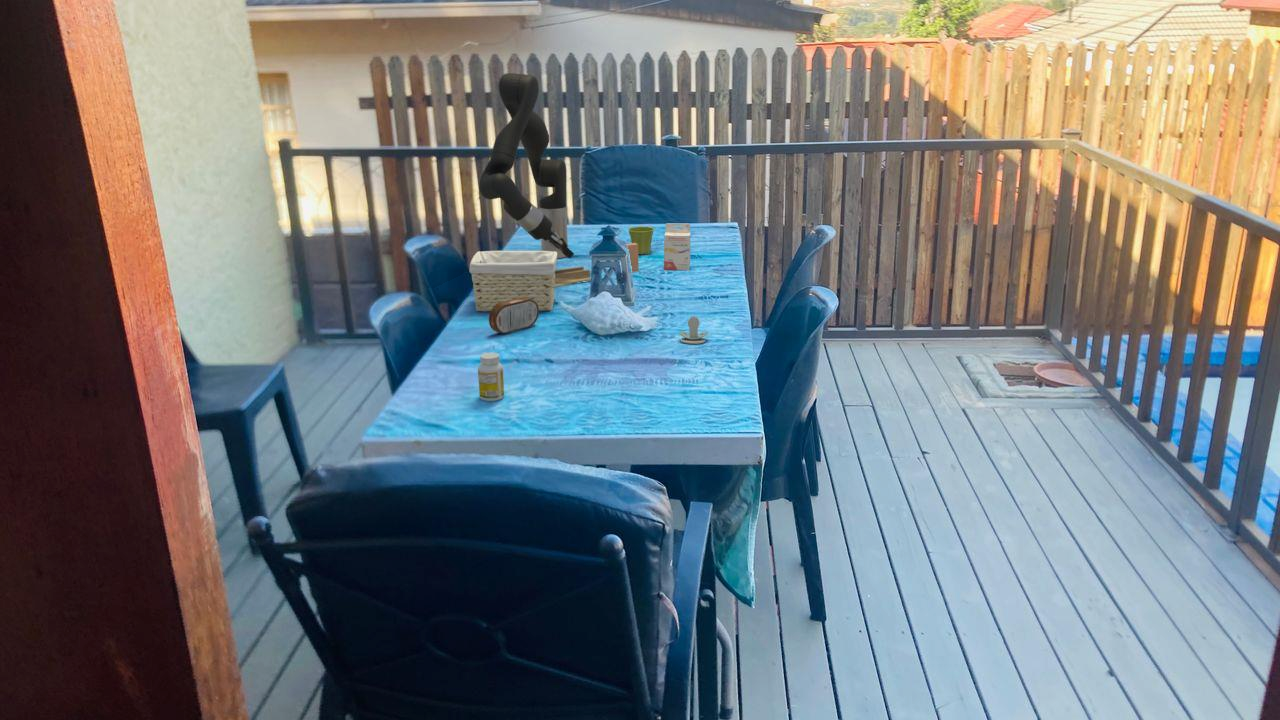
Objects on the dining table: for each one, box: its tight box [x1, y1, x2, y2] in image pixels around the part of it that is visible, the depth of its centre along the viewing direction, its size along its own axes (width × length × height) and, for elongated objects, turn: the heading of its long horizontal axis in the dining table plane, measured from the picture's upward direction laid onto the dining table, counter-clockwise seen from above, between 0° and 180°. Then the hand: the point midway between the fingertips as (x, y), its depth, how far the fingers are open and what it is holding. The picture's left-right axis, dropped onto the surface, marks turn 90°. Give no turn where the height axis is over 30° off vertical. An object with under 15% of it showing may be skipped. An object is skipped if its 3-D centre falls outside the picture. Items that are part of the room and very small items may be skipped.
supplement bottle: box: [477, 352, 505, 402], centre depth 208 cm, size 5×5×10 cm
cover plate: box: [625, 242, 640, 273], centre depth 312 cm, size 2×14×9 cm, turn 120°
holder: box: [554, 266, 591, 288], centre depth 303 cm, size 12×18×3 cm, turn 119°
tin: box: [488, 297, 540, 335], centre depth 254 cm, size 15×3×8 cm, turn 135°
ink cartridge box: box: [663, 222, 692, 271], centre depth 315 cm, size 9×5×15 cm, turn 84°
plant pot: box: [627, 226, 655, 256], centre depth 338 cm, size 9×9×9 cm
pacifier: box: [678, 316, 709, 345], centre depth 244 cm, size 7×6×6 cm
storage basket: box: [469, 250, 558, 312], centre depth 275 cm, size 24×16×15 cm
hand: (571, 255), depth 303 cm, fingers closed
